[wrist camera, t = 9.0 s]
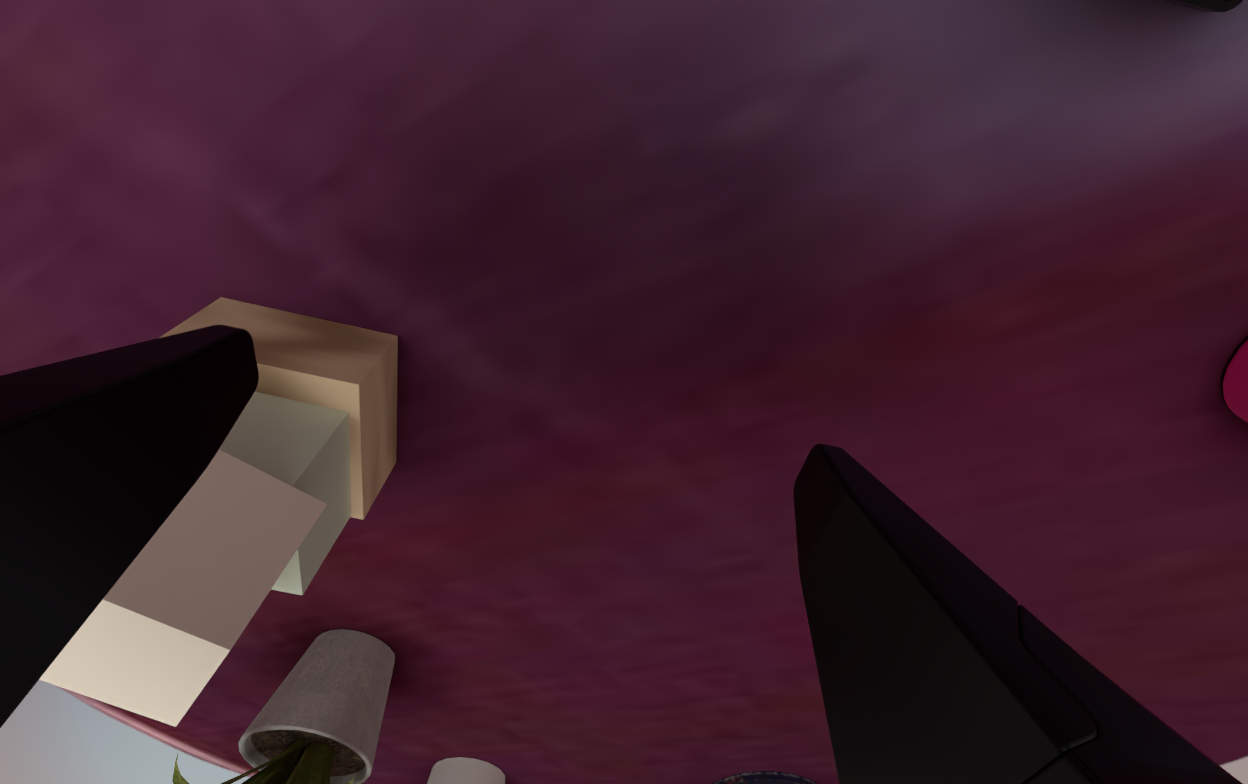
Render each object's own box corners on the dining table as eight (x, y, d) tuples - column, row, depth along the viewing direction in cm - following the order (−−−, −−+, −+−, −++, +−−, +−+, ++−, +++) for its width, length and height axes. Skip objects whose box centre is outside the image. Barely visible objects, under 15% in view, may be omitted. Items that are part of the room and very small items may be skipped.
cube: (327, 504, 18) (230, 650, 14) (273, 581, 20) (175, 726, 16) (164, 422, 17) (0, 558, 12) (125, 515, 19) (-25, 657, 15)
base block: (400, 332, 24) (358, 384, 20) (398, 458, 28) (363, 519, 24) (225, 294, 23) (153, 341, 20) (248, 428, 27) (191, 486, 24)
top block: (348, 412, 21) (291, 486, 18) (351, 515, 24) (302, 595, 21) (193, 378, 21) (104, 448, 17) (215, 487, 24) (143, 565, 20)
